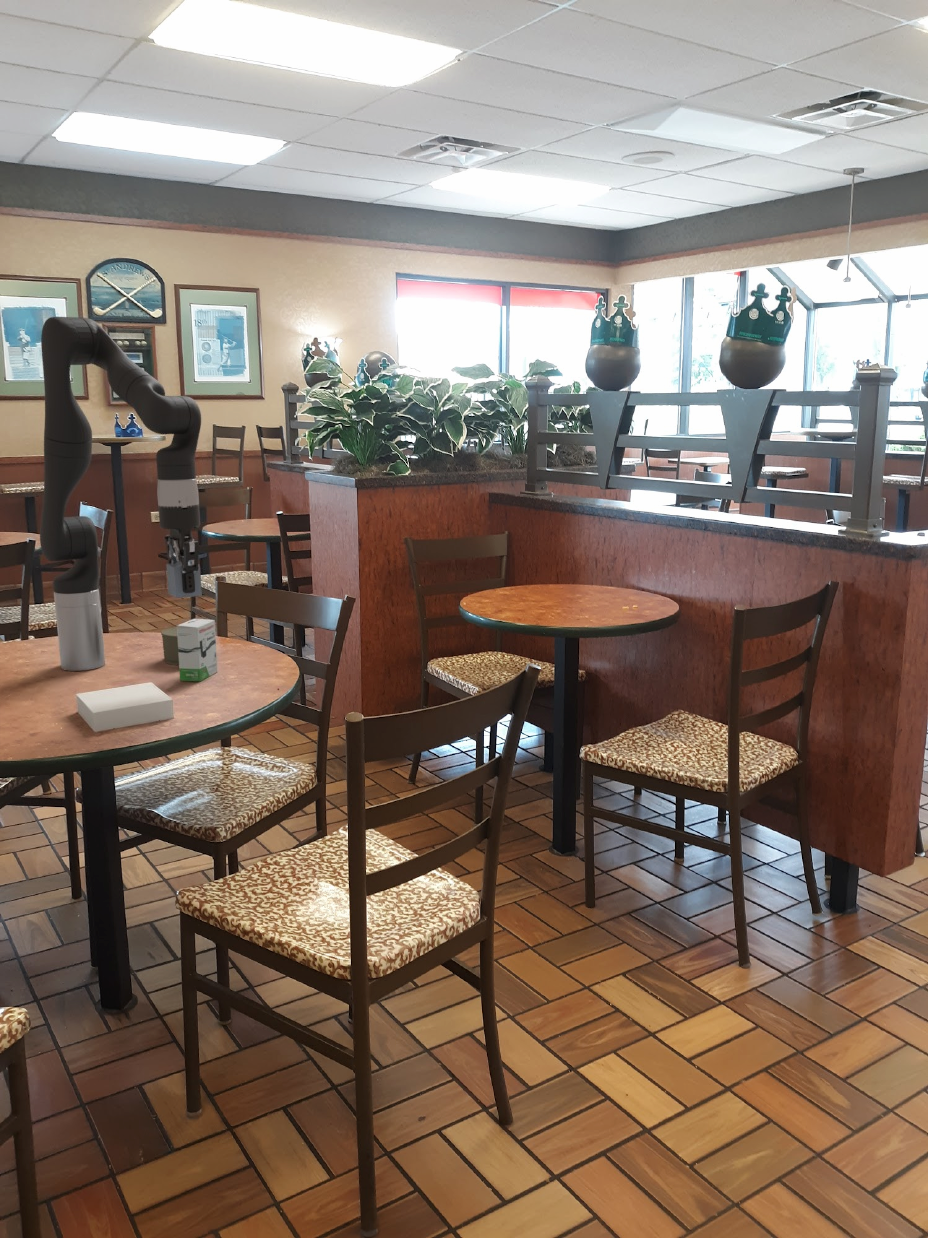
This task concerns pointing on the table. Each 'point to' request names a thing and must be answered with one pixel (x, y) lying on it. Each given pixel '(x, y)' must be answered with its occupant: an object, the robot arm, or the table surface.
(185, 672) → the ink box
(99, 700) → the white square slab
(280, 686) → the table surface
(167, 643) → the can
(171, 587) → the slate block
